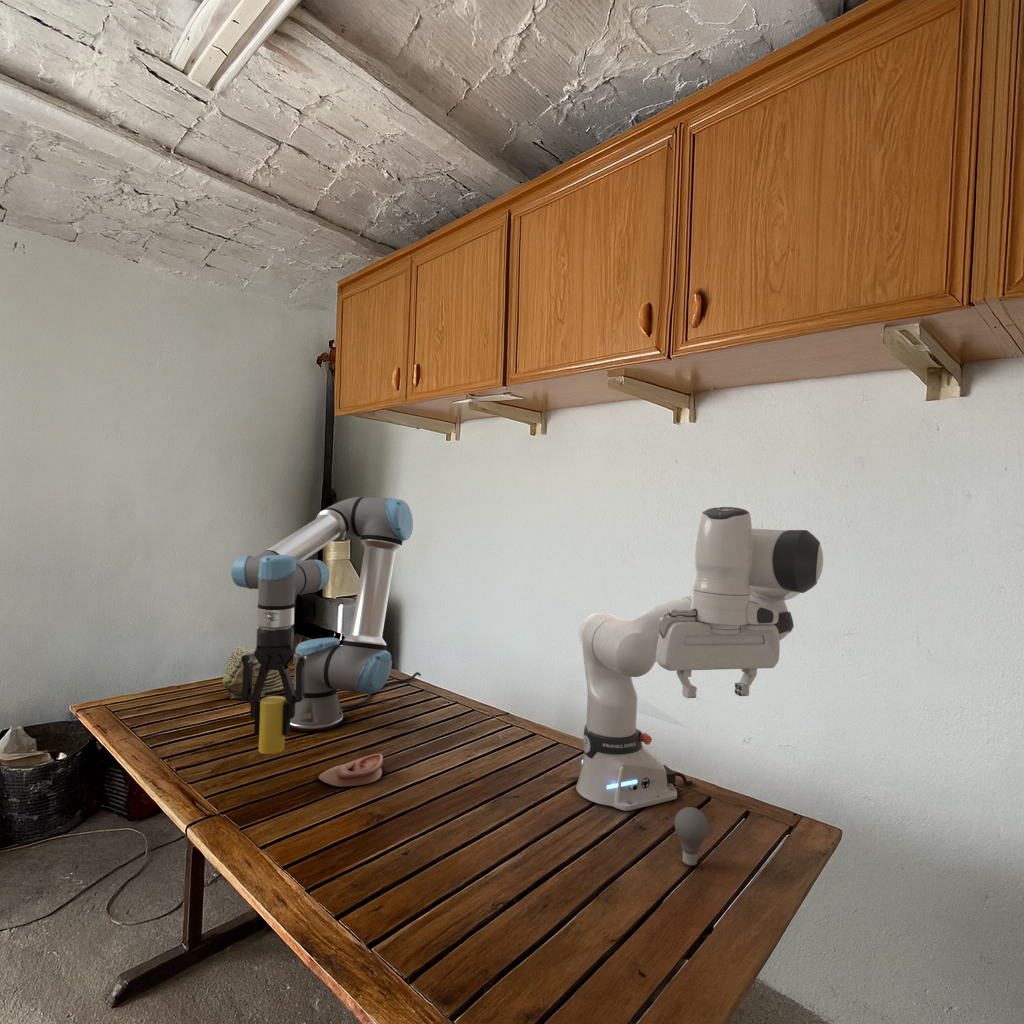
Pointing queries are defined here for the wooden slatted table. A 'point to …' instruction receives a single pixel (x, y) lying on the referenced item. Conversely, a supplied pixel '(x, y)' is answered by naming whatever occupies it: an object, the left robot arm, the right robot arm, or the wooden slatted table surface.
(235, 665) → the fossil
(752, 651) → the right robot arm
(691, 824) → the light bulb
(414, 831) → the wooden slatted table surface
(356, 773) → the anatomical model
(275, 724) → the cylinder
